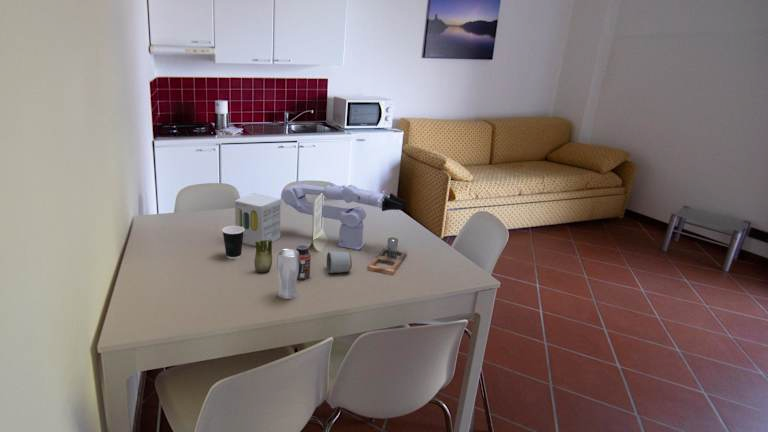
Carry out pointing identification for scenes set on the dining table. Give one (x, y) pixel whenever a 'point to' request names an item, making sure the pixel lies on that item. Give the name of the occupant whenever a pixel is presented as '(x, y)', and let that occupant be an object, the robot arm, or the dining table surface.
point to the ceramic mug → (338, 262)
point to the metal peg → (392, 247)
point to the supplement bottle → (303, 262)
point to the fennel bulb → (263, 256)
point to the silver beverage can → (287, 272)
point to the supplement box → (258, 218)
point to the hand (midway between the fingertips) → (403, 205)
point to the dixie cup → (233, 241)
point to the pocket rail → (386, 262)
